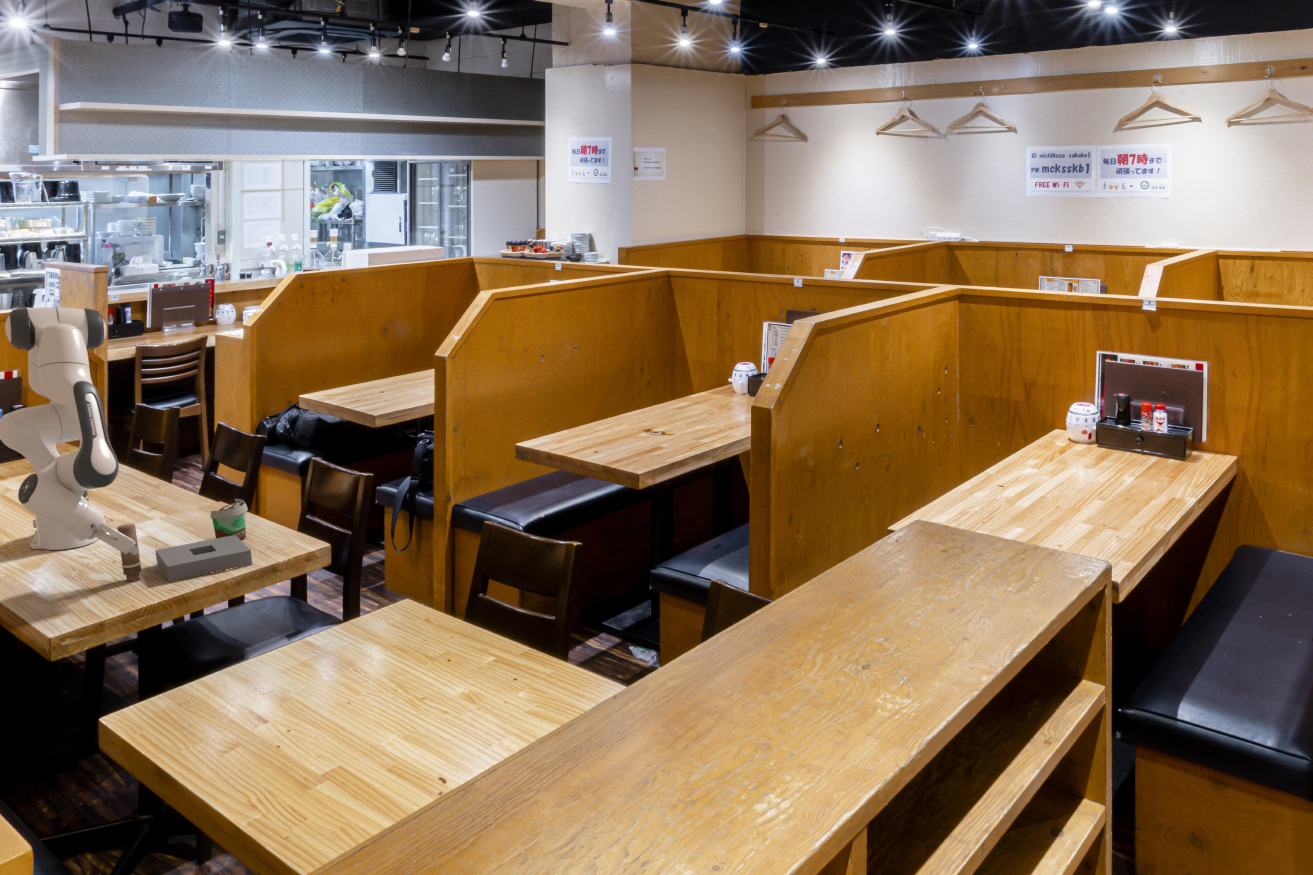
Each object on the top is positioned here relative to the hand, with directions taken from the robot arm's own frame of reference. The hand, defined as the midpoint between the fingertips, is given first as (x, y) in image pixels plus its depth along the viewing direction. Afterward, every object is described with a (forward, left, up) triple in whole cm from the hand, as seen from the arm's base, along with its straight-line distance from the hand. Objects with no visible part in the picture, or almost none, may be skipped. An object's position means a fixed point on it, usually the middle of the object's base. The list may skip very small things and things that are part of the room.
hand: (132, 549), depth 262 cm
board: (0, +16, -8) cm, 18 cm away
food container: (-16, +28, -8) cm, 33 cm away
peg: (0, -1, -8) cm, 8 cm away
